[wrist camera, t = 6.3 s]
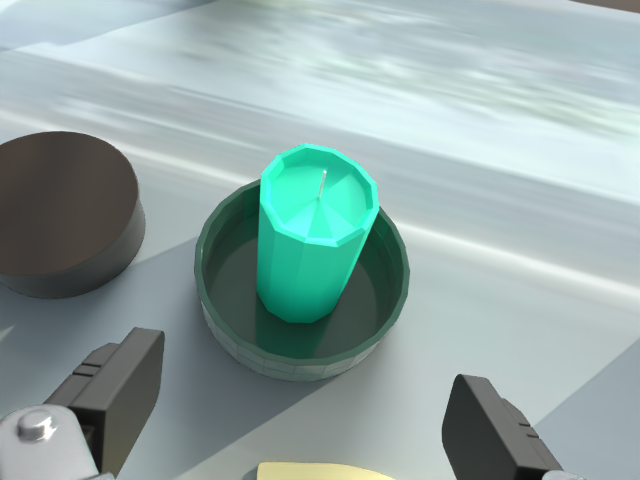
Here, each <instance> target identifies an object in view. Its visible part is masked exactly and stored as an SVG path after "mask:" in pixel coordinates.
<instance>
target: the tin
mask: <svg viewBox="0 0 640 480" xmlns="http://www.w3.org/2000/svg"><path fill="white" fill-rule="evenodd" d="M260 186H261V179H259V180H256V181H254V182H252V183H250V184H247V185H245V186H243V187H240V188H239V189H238V190H236V191H235V192H234V193H232V194H231V195H230V196H228V197H227V198H226V199H224V200H223V201H222V202H221V203H220V204H219V205H218V206H217V208H216V209H215V210H214V212H213V213H212V214H211V215H210V217H209V218H208V219H207V221H206V222H205V224H204V226H203V229H202V232H201V234H200V237H199V239H198V242H197V244H196V252H195V266H194V274H195V278H196V283H197V287H198V291H199V296H200V300H201V304H202V309H203V313H204V317H205V320H206V322H207V324H208V325H209V327H210V329H211V332H212V333H213V335H214V336H215V338H216V339H217V341H218V342H219V344H220V345H221V346H222V347H223V348H224V349H225V350H226V351H227V352H228V353H229V354H230V355H231V356H232V357H233V358H235V359H236V360H237V361H238V362H239V363H241V364H243V365H244V366H246V367H247V368H249V369H251V370H253V371H255V372H257V373H259V374H262V375H264V376H268V377H271V378H274V379H278V380H285V381H292V382H308V381H317V380H322V379H326V378H330V377H333V376H335V375H338V374H340V373H343V372H345V371H347V370H348V369H350V368H352V367H354V366H355V365H357V364H358V363H359V362H361V361H362V360H363V359H365V358H366V357H368V355H369V354H370V353H371V352H372V351H373V349H374V348H375V347H376V346H377V345H378V343H379V342H380V341H381V340H382V339H383V337H384V336H385V335H386V334H387V332H388V331H389V330H390V328H391V327H392V326H393V325H394V323H395V322H396V321H397V319H398V317H399V315H400V313H401V310H402V308H403V305H404V303H405V301H406V298H407V295H408V286H409V276H410V268H409V263H408V257H407V252H406V247H405V245H404V242H403V240H402V238H401V236H400V234H399V232H398V230H397V228H396V226H395V224H394V223H393V222H392V220H391V219H390V218H389V217H388V216H387V214H386V213H385V212H384V211H383V209H382V208H381V207H380V206H379V211H378V213H377V216H376V218H375V220H374V223H373V225H372V227H371V229H370V232H369V234H368V236H367V239H366V241H365V243H364V245H363V248H362V250H361V252H360V255H359V257H358V259H357V261H356V264H355V266H354V268H353V271H352V273H351V275H350V277H349V280H348V282H347V284H346V287H345V289H344V291H343V293H342V295H341V297H340V299H339V300H338V302H337V304H336V306H335V307H334V309H333V311H332V313H330V314H328V315H326V316H324V317H322V318H320V319H318V320H317V321H315V322H313V323H288V322H286V321H284V320H283V319H281V318H279V317H277V316H276V315H274V314H272V313H271V312H269V311H267V309H266V307H265V306H264V304H263V302H262V300H261V299H260V297H259V295H258V293H257V292H256V286H257V260H258V234H259V207H260Z"/></svg>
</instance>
